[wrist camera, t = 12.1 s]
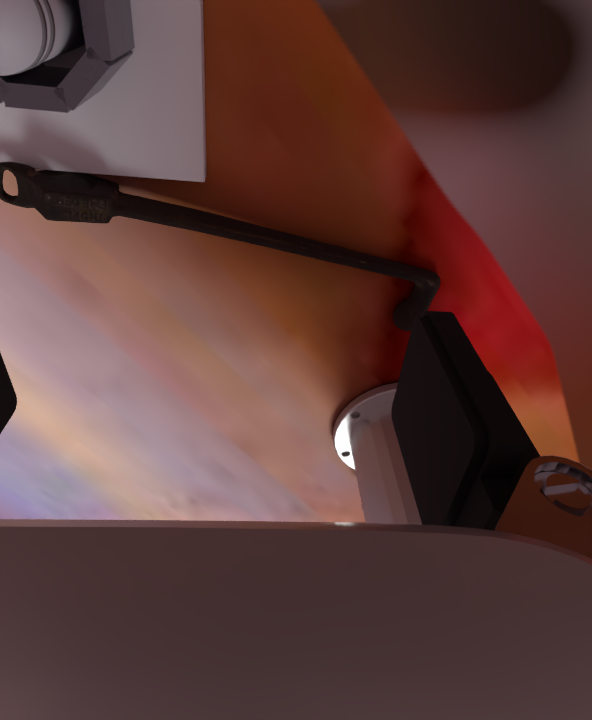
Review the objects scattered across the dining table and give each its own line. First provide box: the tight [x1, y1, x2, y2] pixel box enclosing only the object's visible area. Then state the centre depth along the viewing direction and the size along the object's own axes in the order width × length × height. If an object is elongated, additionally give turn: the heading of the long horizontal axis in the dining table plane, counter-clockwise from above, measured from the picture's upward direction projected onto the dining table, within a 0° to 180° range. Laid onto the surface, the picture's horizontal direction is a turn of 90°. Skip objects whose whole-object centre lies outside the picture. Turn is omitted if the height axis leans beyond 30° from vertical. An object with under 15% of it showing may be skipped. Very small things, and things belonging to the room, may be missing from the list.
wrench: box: [0, 162, 440, 331], centre depth 32 cm, size 5×5×30 cm
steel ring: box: [0, 0, 135, 113], centre depth 21 cm, size 7×7×5 cm
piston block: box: [0, 0, 206, 182], centre depth 21 cm, size 16×14×10 cm
